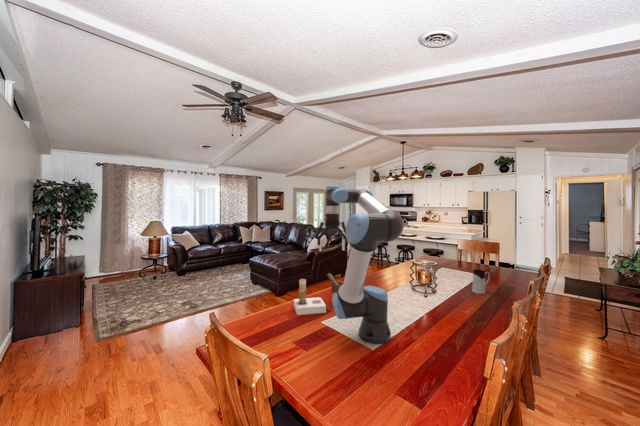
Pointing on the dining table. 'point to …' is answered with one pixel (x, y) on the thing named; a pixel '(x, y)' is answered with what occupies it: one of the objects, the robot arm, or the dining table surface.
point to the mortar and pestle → (334, 283)
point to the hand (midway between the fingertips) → (331, 250)
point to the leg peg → (302, 292)
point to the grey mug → (479, 281)
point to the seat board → (310, 306)
